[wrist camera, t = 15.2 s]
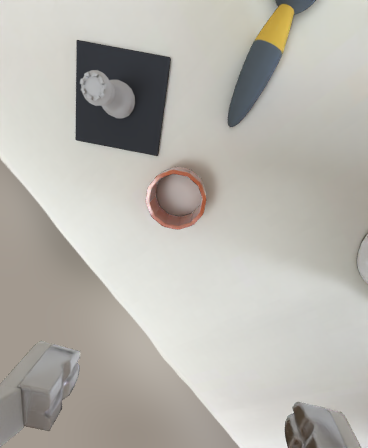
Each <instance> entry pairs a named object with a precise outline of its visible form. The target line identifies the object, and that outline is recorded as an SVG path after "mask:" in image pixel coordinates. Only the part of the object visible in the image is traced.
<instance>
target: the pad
mask: <svg viewBox="0 0 368 448" xmlns="http://www.w3.org/2000/svg"><path fill="white" fill-rule="evenodd" d="M170 61H171V59H170V57H165V56H160V55H155V54H149V53H144V52H139V51H133V50H128V49H122V48H117V47H112V46H106V45H101V44H96V43H90V42H85V41H80V40H77V70H76V140H78V141H83V142H88V143H93V144H99V145H104V146H109V147H114V148H119V149H124V150H130V151H135V152H140V153H145V154H150V155H156V156H158V151H159V143H160V136H161V128H162V121H163V113H164V106H165V98H166V91H167V83H168V76H169V68H170ZM91 70H98V71H100V72H102V73H104V74H105V75H106V76H107V77H108V79H109V80H119V81H122V82H124V83H126V84H127V85H128V86H129V87H130V88H131V89H132V91H133V94H134V96H135V105H134V109H133V111H132V112H131V113H130V115H129V116H127V117H125V118H115V117H113V116H111V115H109V114H108V113H107V112H106V111H105V110H104V109H103V107H102V106H95V105H93V104H91V103H89V102H88V101H87V100H86V99H85V97H84V95H83V93H82V91H81V89H82V88H81V84H80V80H81V78H83V77H84V76H85V75H84V74H85V73H87V72H89V71H91Z"/></svg>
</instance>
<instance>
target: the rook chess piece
mask: <svg viewBox="0 0 368 448" xmlns="http://www.w3.org/2000/svg"><path fill="white" fill-rule="evenodd" d="M84 75H85V76H84V77H83V78H81V80H80V84H81V88H82V89H81V91H82V93H83V95H84V97H85V99H86V100H87V101H88V102H89V103H91V104H93V105H95V106H102V107H103V109H104V110H105V111H106V112H107V113H108V114H109V115H111V116H113V117H115V118H125V117H127V116H129V115H130V113H131V112H132V111H133V109H134V105H135V96H134V94H133V91H132V89H131V88H130V87H129V86H128V85H127V84H126V83H124V82H122V81H119V80H109V79H108V77H107V76H106V75H105V74H104V73H102V72H100V71H98V70H91V71H89V72H87V73H85V74H84Z"/></svg>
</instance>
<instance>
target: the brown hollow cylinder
mask: <svg viewBox="0 0 368 448" xmlns="http://www.w3.org/2000/svg"><path fill="white" fill-rule="evenodd" d="M170 174H178V175H183V176H187V177H189V178H190V179H191V180H192V181H193V182H194V183H195V184H197V185H198V187H199V190H200V193H201V196H202V198H201V203H200V205H199V206H198V207H197V209H196V210H195V211H194V212H193V213H191V214H188V215H185V216H182V217H179V216H174V215H169V214H168V213H167V212H166V211H164V210H163V209H162V208H161V207H160V205H159V203H158V200H157V198H156V190H157V184H158V182H159V181H160V180H161V179H162V177H165V176H168V175H170ZM205 204H206V190H205V187H204V184H203V181H202V179H201V178H200V177H199V176H198V175H197V174H196V173H194V172H193V171H192V170H190V169H187V168H182V167H174V168H171V169H168V170H165V171H163V172H162V173H160V174H159V175H157V176H156V177H155V179H154V180H153V181H152V182H151V184H150V185H149V186H148V188H147V196H146V205H147V207H148V210H149V212H150V215H151V217H152V216H153V217H152V218H153V219H155V220H156V221H157V222H158V223H160V224H161V225H162V226H164V227H167V228H172V229H177V230H178V229H182V228H186V227H189V226H192V225H194V224H195V222H196V221H197V220H198V219H199V218H200V217H201V216H202V215H203V213H204V209H205Z"/></svg>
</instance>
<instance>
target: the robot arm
mask: <svg viewBox="0 0 368 448" xmlns="http://www.w3.org/2000/svg"><path fill="white" fill-rule="evenodd" d="M357 265H358V270H359V272H360V274H361V276H362V278H363V279H364V280H365V281H366V282H367V283H368V234H367V236H366V237H365V238H364V240H363V242H362V244H361V246H360V248H359V252H358V256H357ZM79 358H80V351H78V350H74V349H70V348H67V347H63V346H59V345H55V344H51V343H48V342H43V341H39V342H38V343H37V344H35V345H34V346H33V347H32V348H31V350H30V351H29V352H28V353H27V354H26V355H25V356H24V358H23V359H22V360H21V361H20V362H19V363H18V364H17V365H16V367H15V368H14V369H13V370H12V371H11V372H10V373H9V374H8V376H7V377H6V378H5V379H4V380H3V381H2V382H1V383H0V447H1V446H2V445H3V444H5V443H6V442H7V441H9V440H10V439H11V438H12V437H13V436H15V435H16V434H17V433H18V432H19V431H21V430H22V429H23V428H24V426H26V427H31V428H36V429H41V430H46V431H50V429H51V427H52V425H53V424H54V422H55V420H56V418H57V417H58V415H59V413H60V411H61V410H62V400H63V399H65V398H66V397H68V396H69V395H70V393H71V392H72V390H73V388H74V386H75V383H76V381H77V378H78V375H79V369H80V366H79V364H78V363H77V362H78V360H79ZM293 411H294V413H293V414H291V415H289V416H288V417H287V419H286V422H285V437H286V442H287V446H288V448H361V446H360V444H359V442H358V440H357V438H356V436H355V434H354V433H353V431H352V429H351V427H350V425H349V423H348V421H347V419H346V417H345V416H344V415H343V414H342V412H339V411H335V410H331V409H326V408H324V407H320V406H315V405H310V404H306V403H301V402H297V403H295V404H294V406H293Z"/></svg>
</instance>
